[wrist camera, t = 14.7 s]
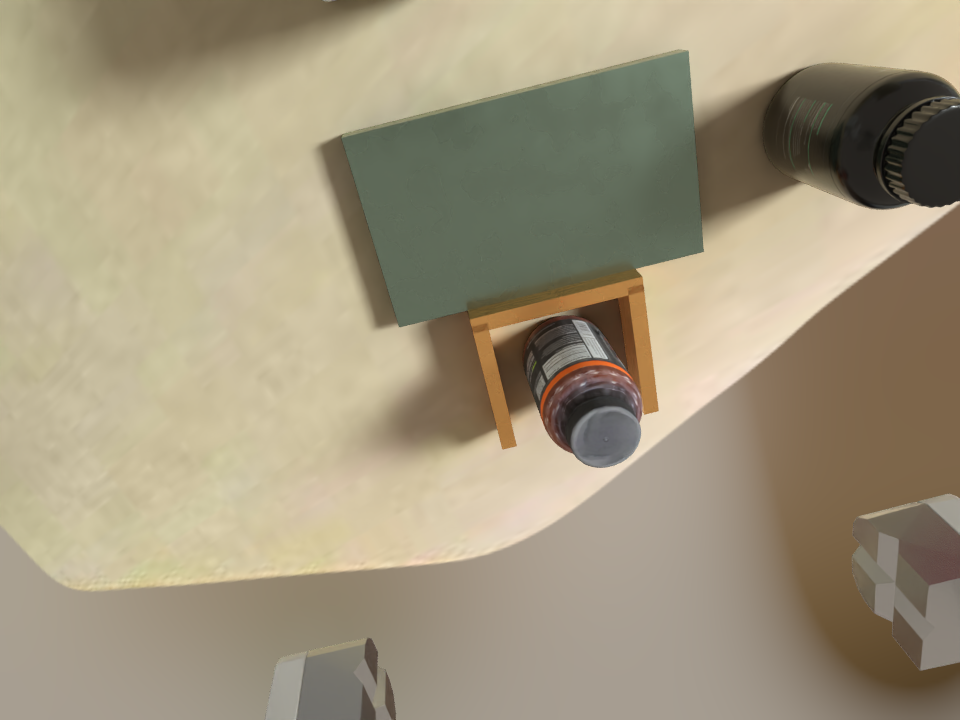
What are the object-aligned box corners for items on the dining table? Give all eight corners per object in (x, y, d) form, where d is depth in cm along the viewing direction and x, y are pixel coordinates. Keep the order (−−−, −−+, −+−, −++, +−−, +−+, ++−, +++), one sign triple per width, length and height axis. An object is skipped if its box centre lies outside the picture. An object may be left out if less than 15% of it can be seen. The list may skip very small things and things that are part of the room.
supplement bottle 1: (612, 376, 49) (666, 468, 39) (531, 398, 49) (564, 497, 39) (597, 301, 46) (651, 379, 36) (511, 325, 47) (542, 410, 36)
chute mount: (436, 441, 50) (438, 465, 47) (343, 133, 40) (339, 142, 37) (705, 375, 50) (722, 395, 47) (678, 49, 40) (698, 51, 37)
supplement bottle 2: (885, 73, 42) (1052, 92, 31) (840, 186, 45) (978, 239, 34) (783, 51, 41) (920, 63, 30) (743, 168, 43) (855, 217, 33)
